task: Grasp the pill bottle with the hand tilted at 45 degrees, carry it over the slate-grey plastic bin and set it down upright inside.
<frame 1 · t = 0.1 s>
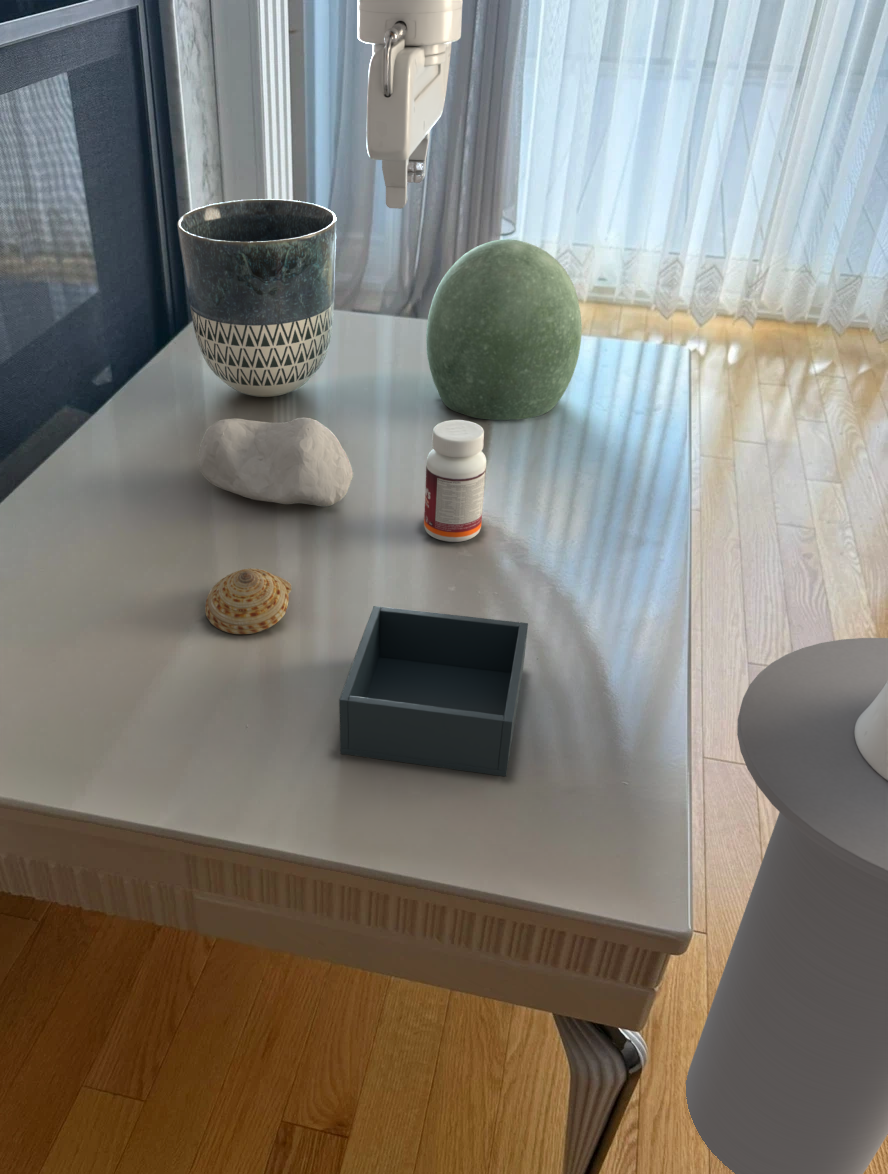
hand: (406, 193, 97), 31 cm above the table, tool pointing down, fingers open, 8 cm apart
bin: (435, 712, 88), on the table
sculpture: (497, 401, 138), on the table
seashell: (249, 610, 101), on the table
decorative stone: (273, 495, 119), on the table
pill bottle: (452, 531, 112), on the table
planter: (267, 390, 142), on the table
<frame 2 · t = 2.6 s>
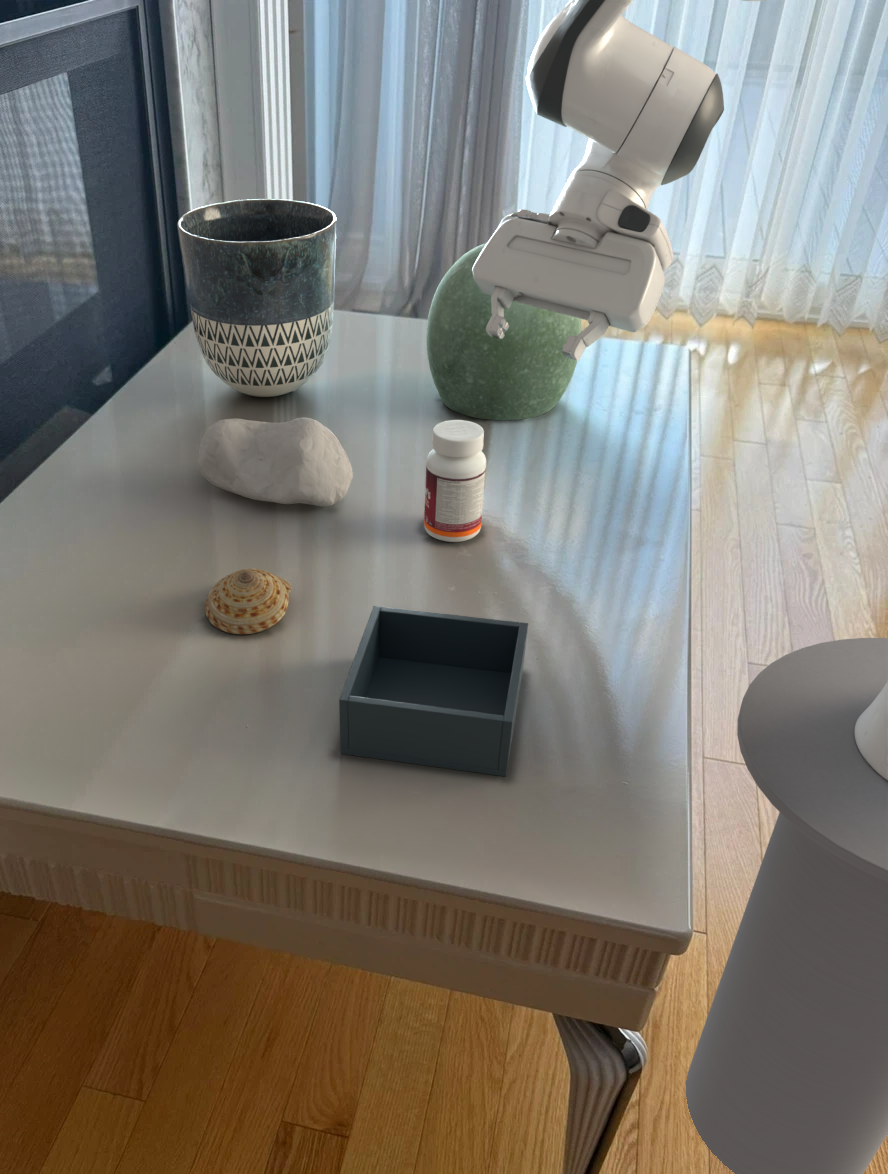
hand: (530, 345, 109), 16 cm above the table, tool tilted 45°, fingers open, 8 cm apart
nothing on the table moved.
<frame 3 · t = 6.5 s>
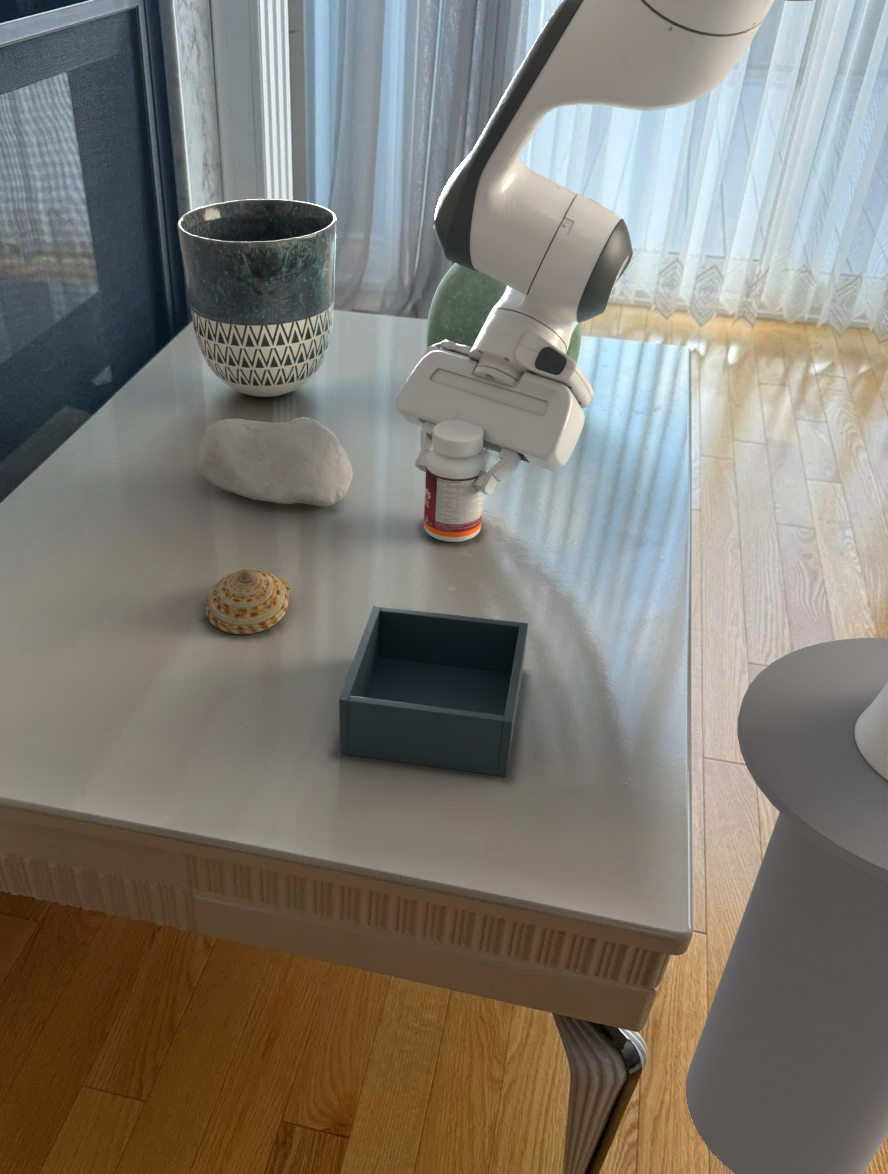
hand: (451, 480, 108), 6 cm above the table, tool tilted 45°, fingers closed on pill bottle, 6 cm apart
pill bottle: (452, 531, 112), on the table, touching gripper
everything else where it was.
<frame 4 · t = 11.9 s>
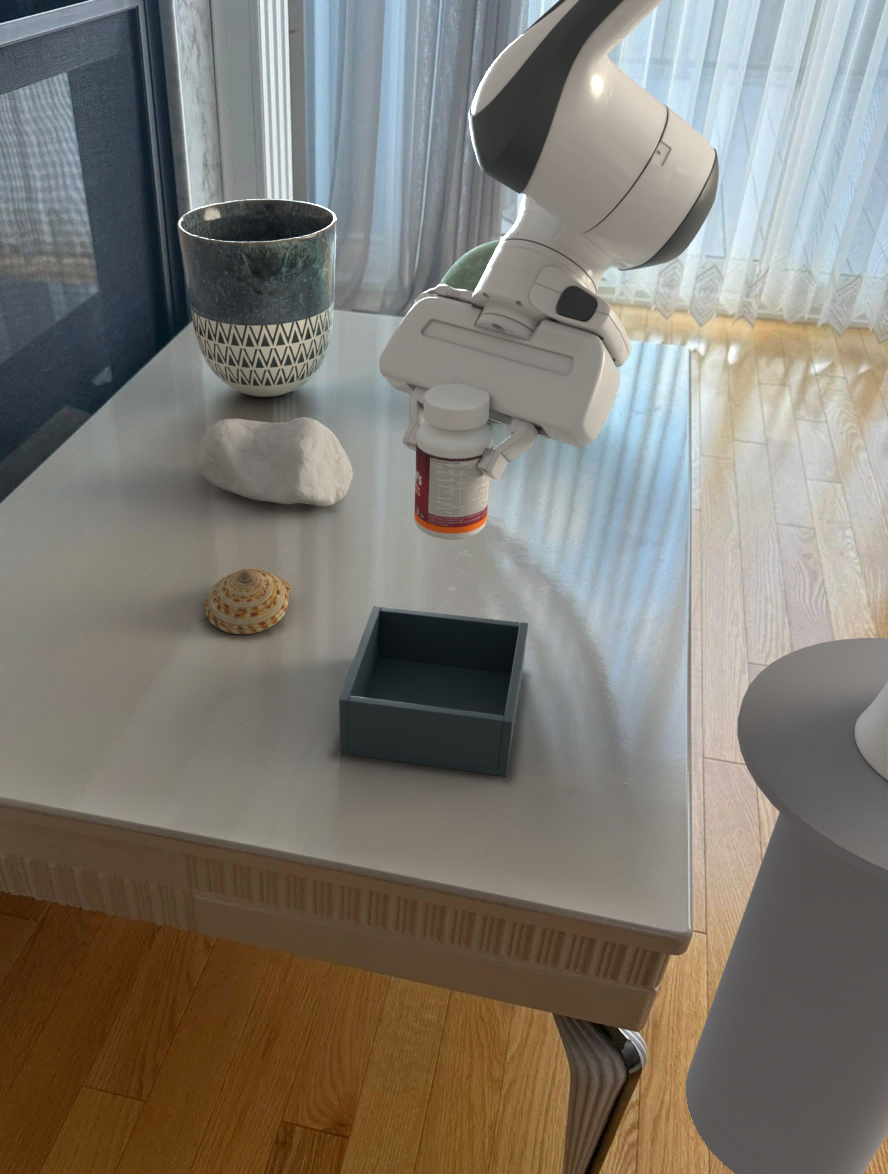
hand: (449, 461, 85), 18 cm above the table, tool tilted 45°, fingers closed on pill bottle, 6 cm apart
pill bottle: (450, 526, 89), point 12 cm above the table, touching gripper
everything else where it was.
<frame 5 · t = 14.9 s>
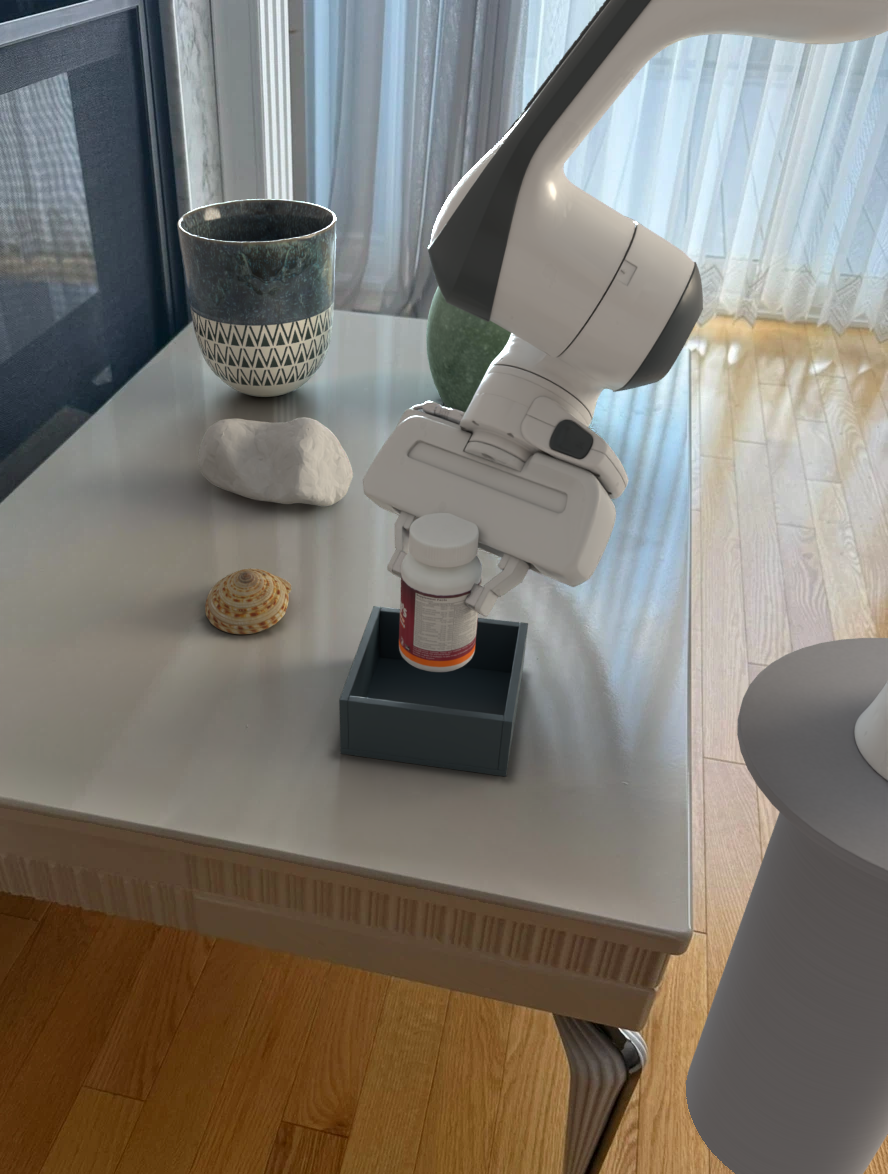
hand: (435, 593, 80), 12 cm above the table, tool tilted 45°, fingers closed on pill bottle, 6 cm apart
pill bottle: (436, 654, 85), point 6 cm above the table, touching gripper
everything else where it was.
when the fingers open (6 cm above the table, at t = 17.1 s): pill bottle stays where it is, resting on bin.
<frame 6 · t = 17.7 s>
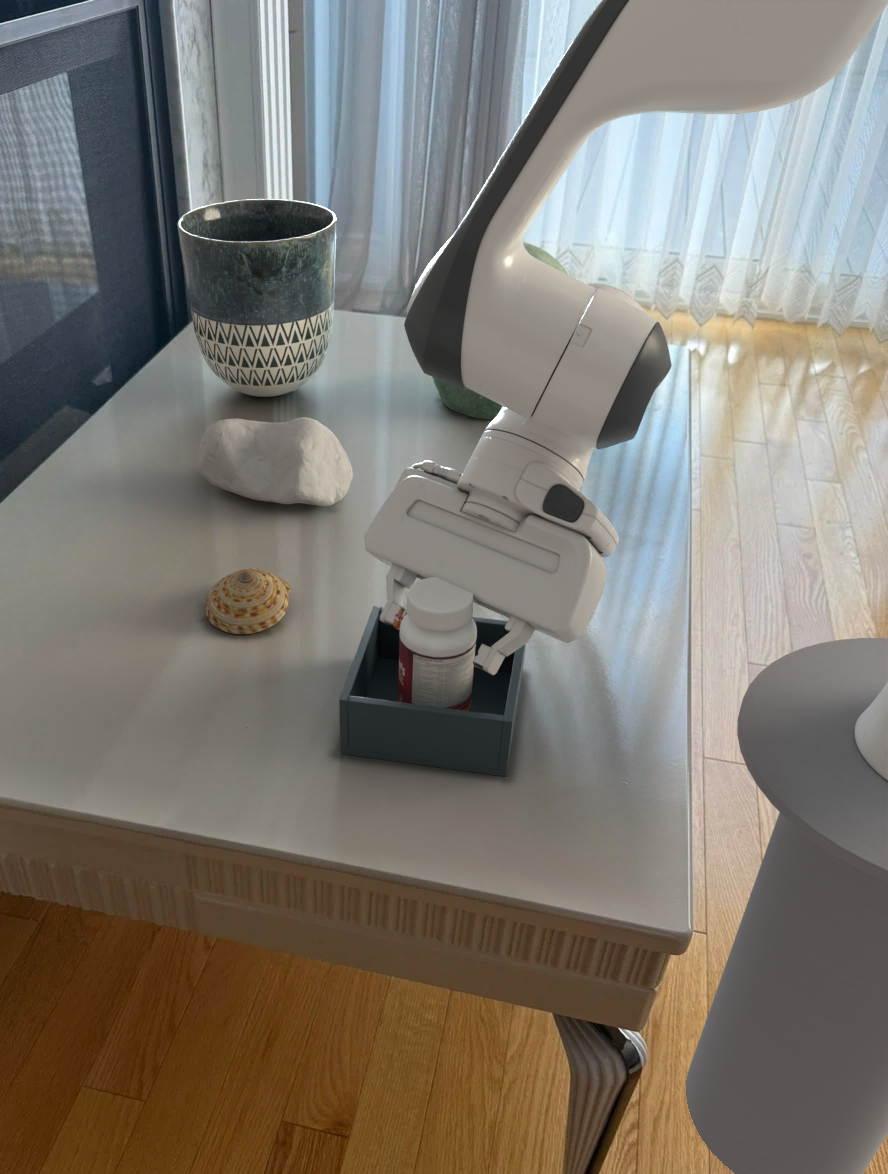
hand: (434, 647, 83), 7 cm above the table, tool tilted 45°, fingers open, 8 cm apart
pill bottle: (434, 708, 88), resting on bin
everything else where it was.
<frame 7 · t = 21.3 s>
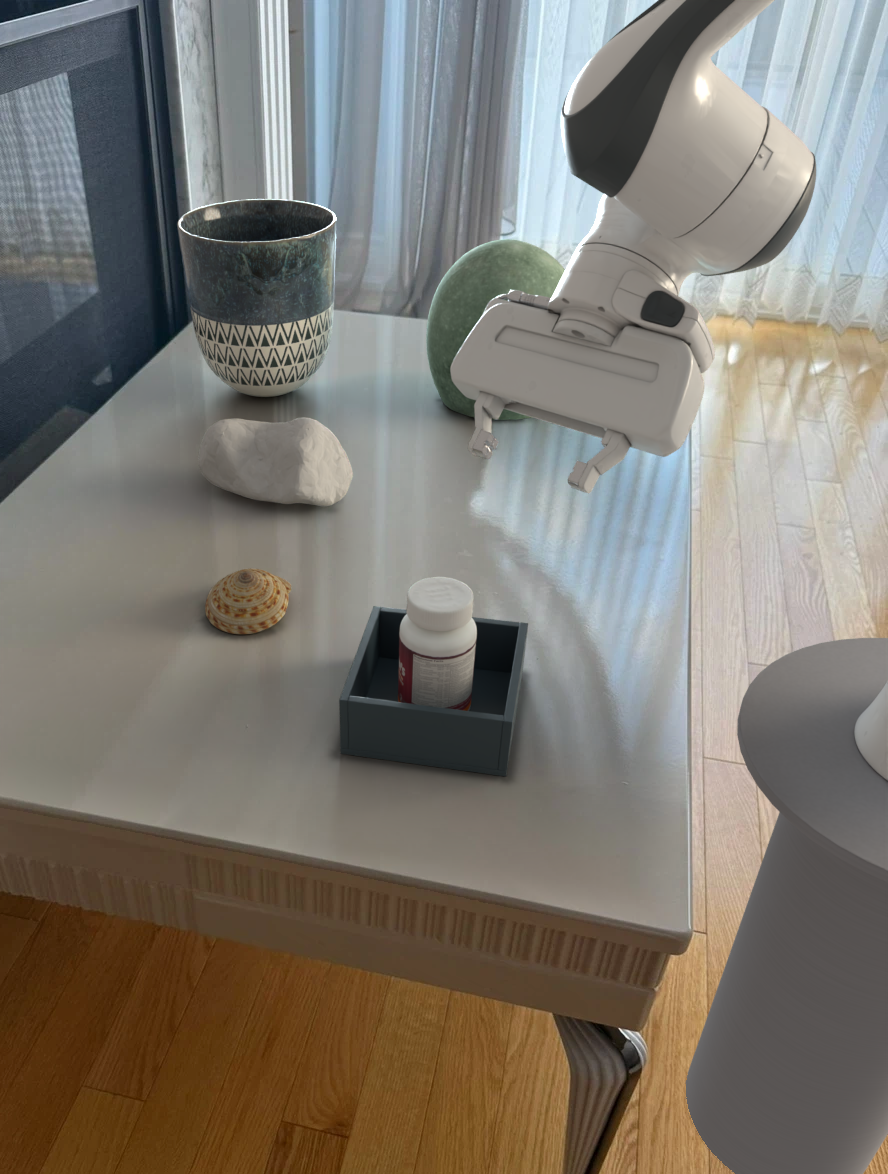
hand: (526, 471, 82), 18 cm above the table, tool tilted 45°, fingers open, 8 cm apart
nothing on the table moved.
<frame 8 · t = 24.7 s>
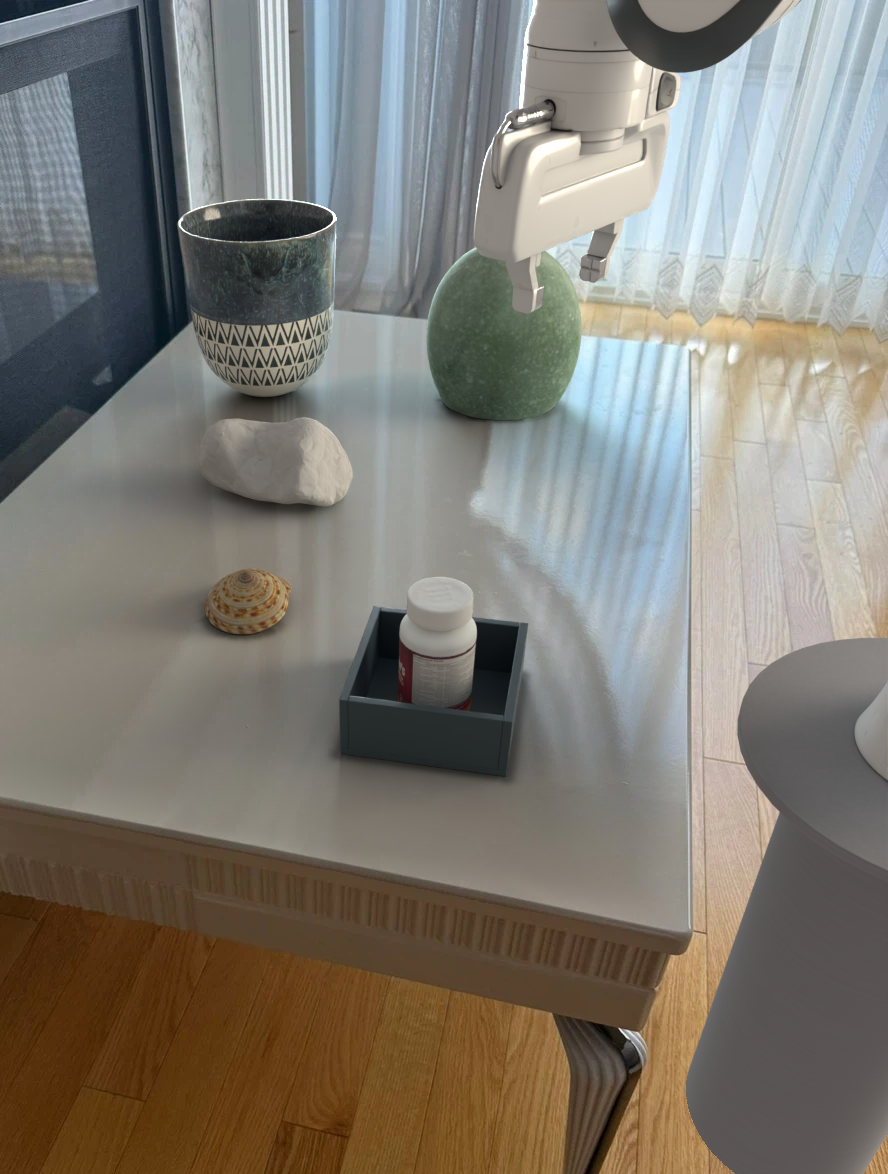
hand: (560, 294, 82), 29 cm above the table, tool pointing down, fingers open, 8 cm apart
nothing on the table moved.
at the end: pill bottle inside the target area in the bin (0.1 cm from its centre), point 0.4 cm above the bin's base; pill bottle tilted 0°; the gripper is holding nothing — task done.
